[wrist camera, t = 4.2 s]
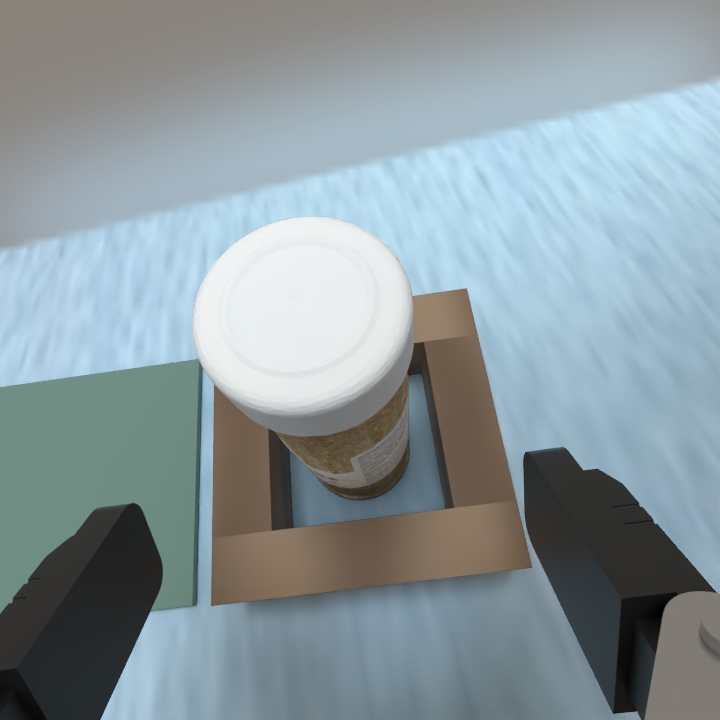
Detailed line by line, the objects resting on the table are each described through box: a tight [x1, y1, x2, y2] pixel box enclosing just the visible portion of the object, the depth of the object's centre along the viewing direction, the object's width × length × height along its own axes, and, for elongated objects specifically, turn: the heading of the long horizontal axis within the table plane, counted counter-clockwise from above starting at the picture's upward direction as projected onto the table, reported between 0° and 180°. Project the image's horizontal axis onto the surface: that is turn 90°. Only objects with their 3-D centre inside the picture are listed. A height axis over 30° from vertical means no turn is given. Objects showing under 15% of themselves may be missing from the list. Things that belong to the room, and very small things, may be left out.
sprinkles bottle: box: [192, 217, 414, 499], centre depth 15 cm, size 5×5×14 cm
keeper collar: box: [211, 288, 532, 606], centre depth 20 cm, size 11×11×4 cm
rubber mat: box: [0, 359, 202, 613], centre depth 22 cm, size 11×11×1 cm
